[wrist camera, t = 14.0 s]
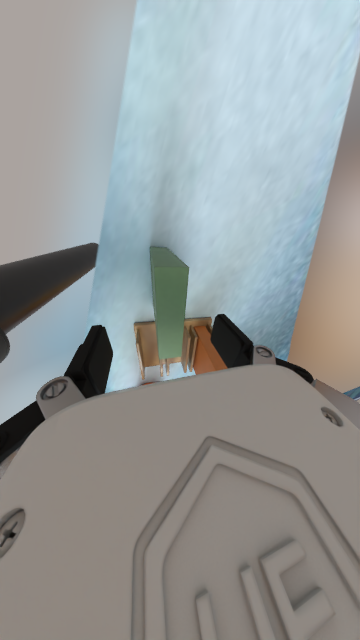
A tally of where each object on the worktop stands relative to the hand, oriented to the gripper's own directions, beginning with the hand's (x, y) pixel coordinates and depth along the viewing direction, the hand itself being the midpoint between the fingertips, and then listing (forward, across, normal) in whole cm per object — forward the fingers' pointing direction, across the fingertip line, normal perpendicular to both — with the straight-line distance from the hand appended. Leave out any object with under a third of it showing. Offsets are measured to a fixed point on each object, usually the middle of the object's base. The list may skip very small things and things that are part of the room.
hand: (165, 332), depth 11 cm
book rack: (+14, -4, +15) cm, 21 cm away
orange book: (+13, -10, +15) cm, 22 cm away
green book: (+14, -1, 0) cm, 14 cm away
